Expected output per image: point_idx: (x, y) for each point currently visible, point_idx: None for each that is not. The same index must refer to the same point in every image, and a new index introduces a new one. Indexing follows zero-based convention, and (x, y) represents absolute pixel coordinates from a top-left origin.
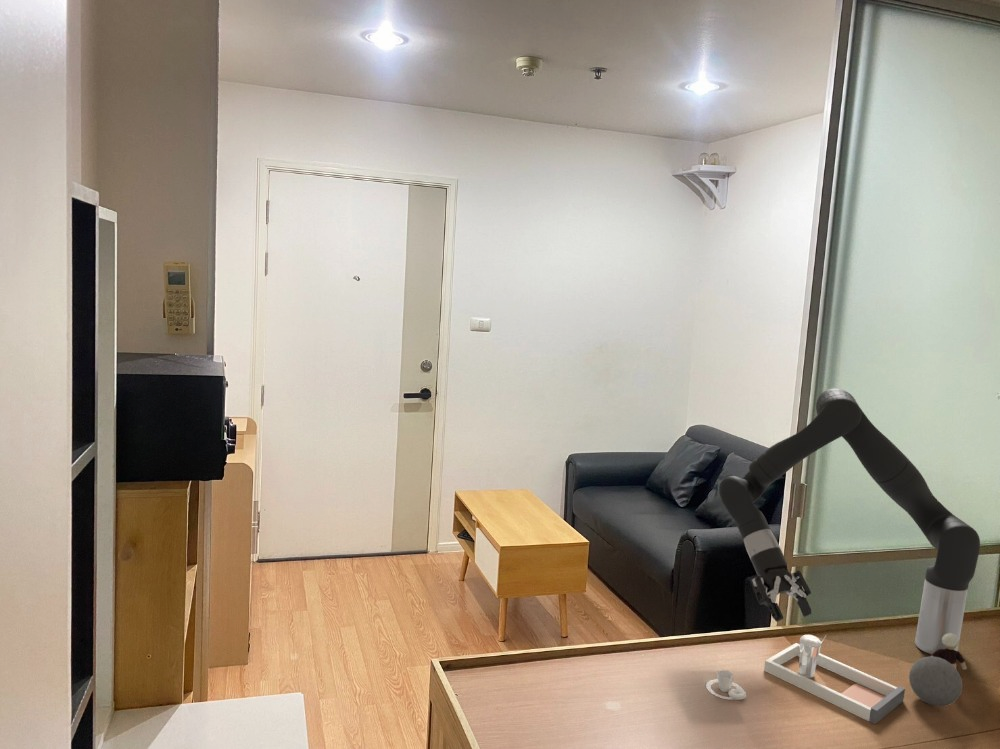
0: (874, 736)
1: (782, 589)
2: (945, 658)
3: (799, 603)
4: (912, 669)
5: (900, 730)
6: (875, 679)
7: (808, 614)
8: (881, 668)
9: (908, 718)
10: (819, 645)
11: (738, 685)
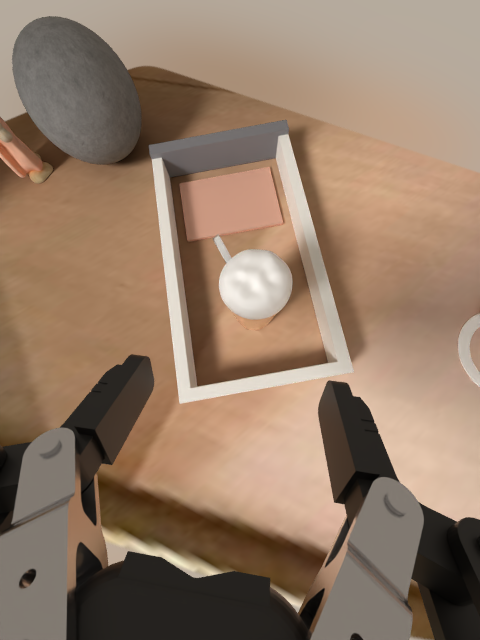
0: (316, 128)
1: (224, 601)
2: None
3: (116, 441)
4: (102, 109)
5: (255, 123)
6: (164, 197)
7: (148, 360)
8: (70, 259)
9: None
10: (254, 249)
11: (460, 349)
